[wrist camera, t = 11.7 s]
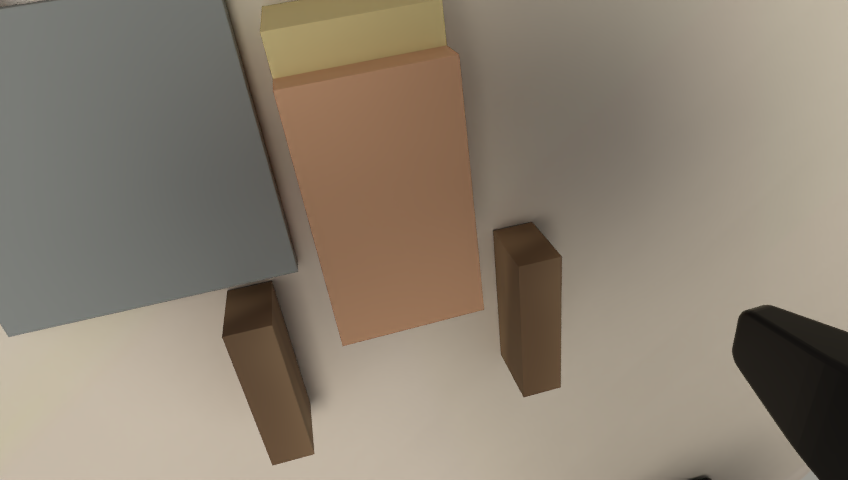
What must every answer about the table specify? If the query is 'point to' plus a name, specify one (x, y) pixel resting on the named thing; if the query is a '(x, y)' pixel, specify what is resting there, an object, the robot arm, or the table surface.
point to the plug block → (379, 157)
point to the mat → (128, 161)
